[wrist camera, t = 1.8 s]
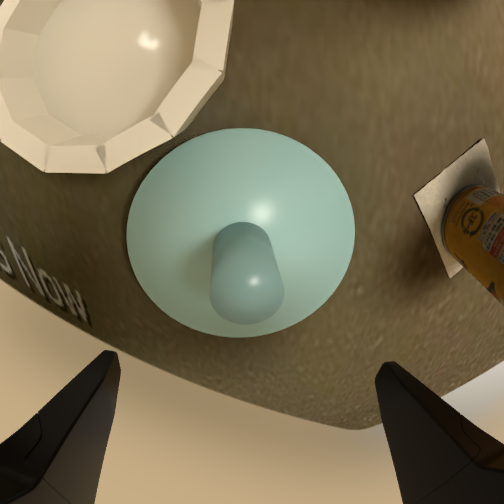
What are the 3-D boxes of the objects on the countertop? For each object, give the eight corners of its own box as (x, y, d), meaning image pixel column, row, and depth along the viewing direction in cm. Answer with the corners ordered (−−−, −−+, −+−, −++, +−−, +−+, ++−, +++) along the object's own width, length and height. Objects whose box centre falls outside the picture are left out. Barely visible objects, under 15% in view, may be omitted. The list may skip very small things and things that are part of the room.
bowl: (244, -42, 11) (250, -79, 7) (214, 159, 16) (209, 180, 12) (46, -25, 10) (8, -45, 6) (24, 154, 15) (-20, 174, 11)
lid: (371, 149, 16) (422, 171, 12) (321, 332, 22) (341, 389, 17) (132, 119, 15) (93, 129, 10) (135, 320, 20) (118, 378, 16)
